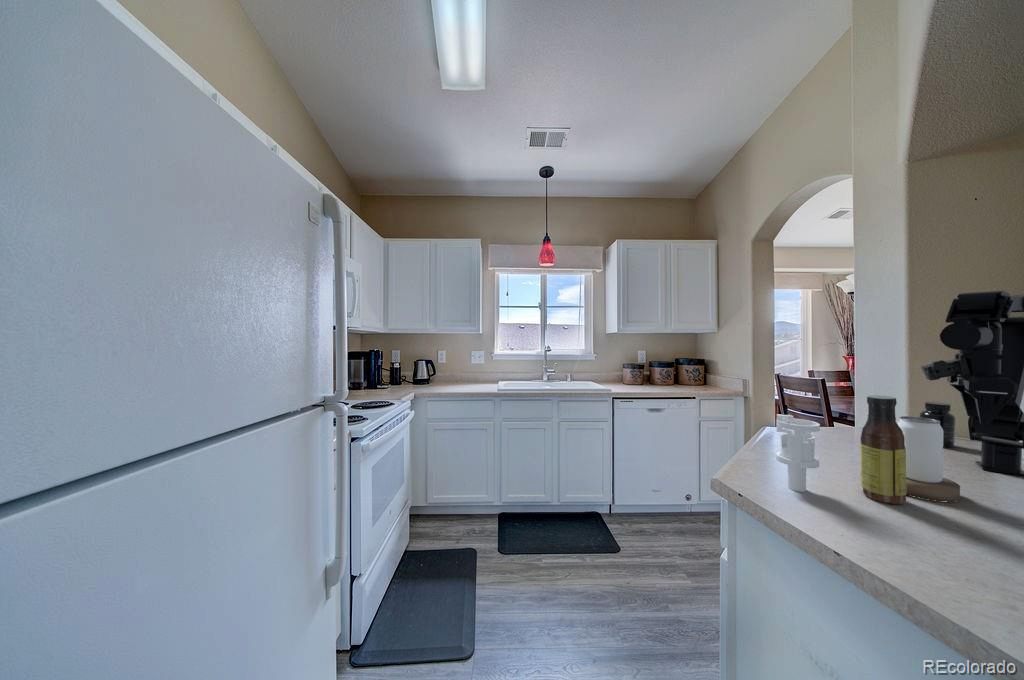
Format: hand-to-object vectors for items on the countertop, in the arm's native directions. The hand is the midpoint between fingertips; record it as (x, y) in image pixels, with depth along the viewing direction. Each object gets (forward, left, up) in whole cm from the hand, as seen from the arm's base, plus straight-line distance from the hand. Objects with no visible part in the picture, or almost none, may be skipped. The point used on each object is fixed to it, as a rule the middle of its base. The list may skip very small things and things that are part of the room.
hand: (977, 420), depth 82 cm
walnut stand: (+17, -11, -13) cm, 24 cm away
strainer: (+32, -30, -13) cm, 46 cm away
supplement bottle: (-32, -1, -13) cm, 35 cm away
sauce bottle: (+27, -17, -13) cm, 35 cm away
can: (+17, -11, -11) cm, 23 cm away
